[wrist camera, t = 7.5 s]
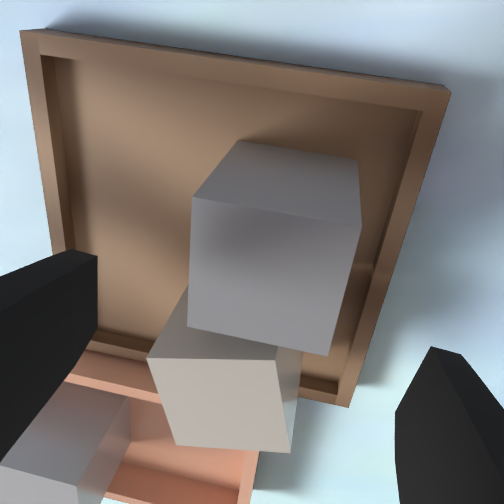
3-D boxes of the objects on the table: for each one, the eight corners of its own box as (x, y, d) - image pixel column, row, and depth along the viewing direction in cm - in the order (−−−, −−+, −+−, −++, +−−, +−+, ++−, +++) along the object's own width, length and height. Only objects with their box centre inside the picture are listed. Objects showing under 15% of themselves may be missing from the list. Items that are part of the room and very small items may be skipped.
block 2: (237, 140, 15) (191, 196, 10) (357, 159, 14) (362, 227, 10) (228, 243, 17) (187, 326, 12) (332, 263, 16) (327, 356, 12)
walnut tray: (42, 28, 14) (19, 30, 13) (443, 85, 13) (451, 92, 12) (79, 327, 21) (66, 344, 20) (348, 386, 20) (348, 407, 19)
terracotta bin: (13, 319, 22) (-22, 352, 20) (273, 376, 20) (264, 418, 18) (39, 436, 26) (13, 473, 24) (252, 490, 25) (243, 533, 23)
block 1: (55, 373, 22) (-15, 461, 18) (129, 391, 22) (76, 486, 18) (62, 424, 24) (2, 513, 20) (130, 441, 24) (83, 537, 20)
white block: (195, 271, 18) (146, 357, 13) (293, 268, 17) (274, 360, 12) (214, 348, 19) (176, 444, 15) (303, 349, 18) (290, 453, 14)
